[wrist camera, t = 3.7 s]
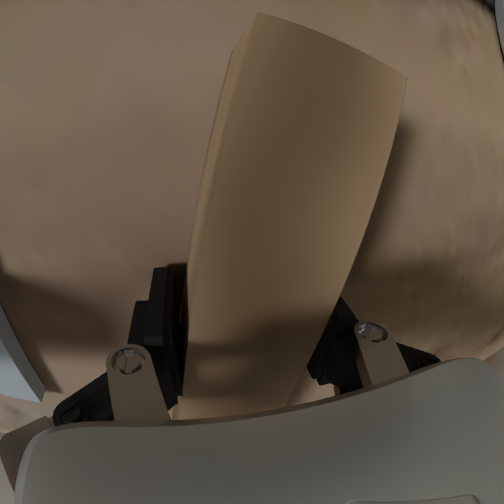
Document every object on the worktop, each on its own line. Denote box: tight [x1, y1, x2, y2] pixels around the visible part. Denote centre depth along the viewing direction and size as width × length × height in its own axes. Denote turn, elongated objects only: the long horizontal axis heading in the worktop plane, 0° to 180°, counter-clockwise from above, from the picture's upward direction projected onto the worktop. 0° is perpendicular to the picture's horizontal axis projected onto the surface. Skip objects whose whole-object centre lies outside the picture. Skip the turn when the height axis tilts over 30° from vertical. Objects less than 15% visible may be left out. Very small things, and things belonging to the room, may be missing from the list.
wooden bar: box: [172, 12, 408, 420], centre depth 10 cm, size 4×18×4 cm, turn 167°
